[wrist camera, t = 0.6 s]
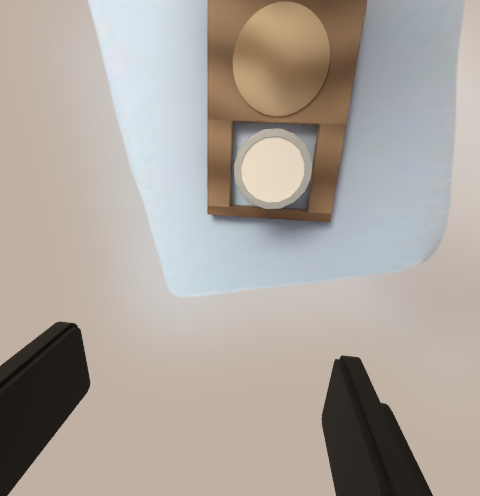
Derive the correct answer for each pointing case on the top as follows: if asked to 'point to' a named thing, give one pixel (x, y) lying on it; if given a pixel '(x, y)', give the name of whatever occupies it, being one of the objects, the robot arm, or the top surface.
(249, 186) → the cream short cylinder
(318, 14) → the pocket board
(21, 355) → the robot arm
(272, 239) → the top surface
